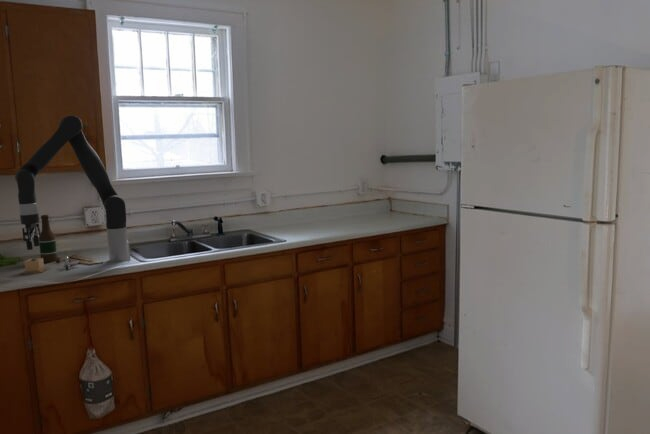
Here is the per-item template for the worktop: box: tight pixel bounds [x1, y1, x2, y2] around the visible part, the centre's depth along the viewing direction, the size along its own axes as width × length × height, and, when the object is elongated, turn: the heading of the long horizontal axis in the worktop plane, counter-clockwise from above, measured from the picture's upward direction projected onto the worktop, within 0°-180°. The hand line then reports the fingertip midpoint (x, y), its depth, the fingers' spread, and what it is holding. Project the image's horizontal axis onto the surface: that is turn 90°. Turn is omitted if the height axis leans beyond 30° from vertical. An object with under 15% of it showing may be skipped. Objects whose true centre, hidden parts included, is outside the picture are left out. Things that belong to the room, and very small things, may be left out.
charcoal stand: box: [56, 256, 79, 272], centre depth 252 cm, size 7×7×6 cm
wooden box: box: [21, 257, 50, 275], centre depth 248 cm, size 9×9×7 cm
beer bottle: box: [38, 214, 58, 264], centre depth 273 cm, size 8×8×24 cm
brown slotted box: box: [23, 257, 45, 272], centre depth 248 cm, size 6×6×5 cm
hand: (33, 247), depth 247 cm, fingers open, 8 cm apart
